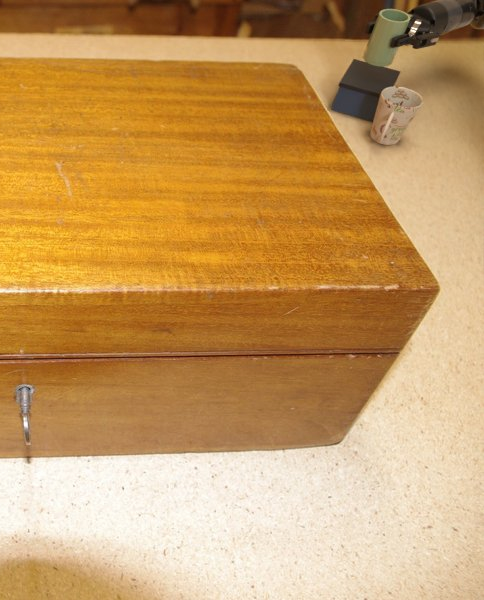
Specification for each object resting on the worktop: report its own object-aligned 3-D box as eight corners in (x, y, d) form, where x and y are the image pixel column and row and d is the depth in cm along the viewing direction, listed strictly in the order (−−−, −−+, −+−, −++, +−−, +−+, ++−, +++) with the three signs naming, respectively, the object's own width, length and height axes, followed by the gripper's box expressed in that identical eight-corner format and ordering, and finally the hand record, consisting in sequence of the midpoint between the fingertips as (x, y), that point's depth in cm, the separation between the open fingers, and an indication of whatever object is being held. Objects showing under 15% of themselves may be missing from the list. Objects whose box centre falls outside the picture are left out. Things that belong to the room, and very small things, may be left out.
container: (388, 98, 165) (400, 71, 160) (376, 123, 158) (388, 96, 152) (343, 85, 169) (353, 58, 164) (329, 109, 161) (339, 82, 156)
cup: (395, 57, 156) (413, 13, 148) (388, 69, 152) (407, 25, 145) (366, 50, 158) (383, 6, 151) (359, 61, 154) (376, 17, 147)
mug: (407, 134, 155) (426, 93, 148) (395, 162, 148) (415, 121, 140) (369, 122, 158) (386, 82, 151) (355, 150, 150) (372, 109, 143)
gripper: (414, -11, 157) (360, 5, 151) (469, 16, 148) (413, 33, 143) (401, 22, 162) (348, 38, 157) (453, 49, 154) (399, 67, 148)
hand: (380, 35), depth 150 cm, fingers closed on cup, 6 cm apart
